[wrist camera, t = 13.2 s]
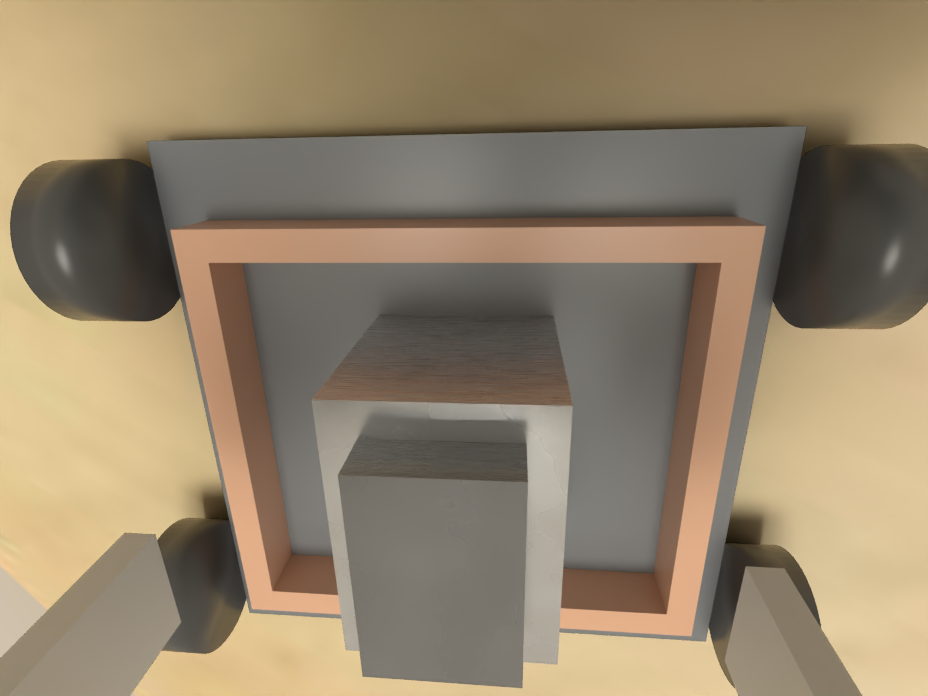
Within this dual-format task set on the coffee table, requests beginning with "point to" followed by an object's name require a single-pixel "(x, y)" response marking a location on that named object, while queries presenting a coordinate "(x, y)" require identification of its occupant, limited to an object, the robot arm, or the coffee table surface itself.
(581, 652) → the coffee table surface
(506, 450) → the block
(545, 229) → the chassis
